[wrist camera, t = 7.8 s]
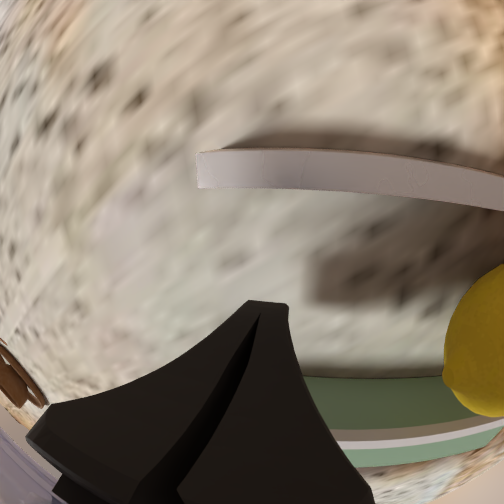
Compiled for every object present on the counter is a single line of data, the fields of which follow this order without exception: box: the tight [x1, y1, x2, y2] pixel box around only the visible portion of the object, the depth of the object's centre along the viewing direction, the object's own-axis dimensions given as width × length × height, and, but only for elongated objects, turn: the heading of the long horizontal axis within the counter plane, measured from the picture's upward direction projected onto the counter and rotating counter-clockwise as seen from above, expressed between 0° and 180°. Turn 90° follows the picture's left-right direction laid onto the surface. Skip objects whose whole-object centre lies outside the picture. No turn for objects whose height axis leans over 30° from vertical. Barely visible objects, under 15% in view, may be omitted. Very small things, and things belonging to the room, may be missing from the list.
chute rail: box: [196, 148, 504, 211], centre depth 7 cm, size 1×16×2 cm, turn 92°
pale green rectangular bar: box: [303, 376, 504, 467], centre depth 11 cm, size 4×16×4 cm, turn 92°
